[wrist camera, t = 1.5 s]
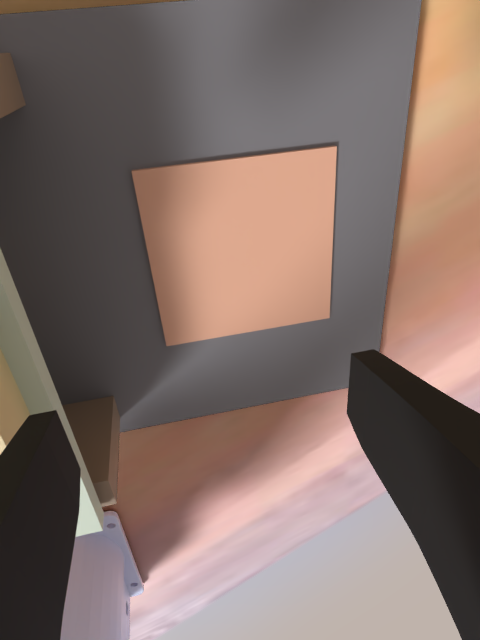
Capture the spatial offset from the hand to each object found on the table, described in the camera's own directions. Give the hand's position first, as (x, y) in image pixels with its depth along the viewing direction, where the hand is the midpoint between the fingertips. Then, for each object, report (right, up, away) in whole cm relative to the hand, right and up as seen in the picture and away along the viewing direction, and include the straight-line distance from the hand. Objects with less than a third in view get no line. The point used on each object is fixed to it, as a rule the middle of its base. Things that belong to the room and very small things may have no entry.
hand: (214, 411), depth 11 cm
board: (-12, +3, +7) cm, 15 cm away
